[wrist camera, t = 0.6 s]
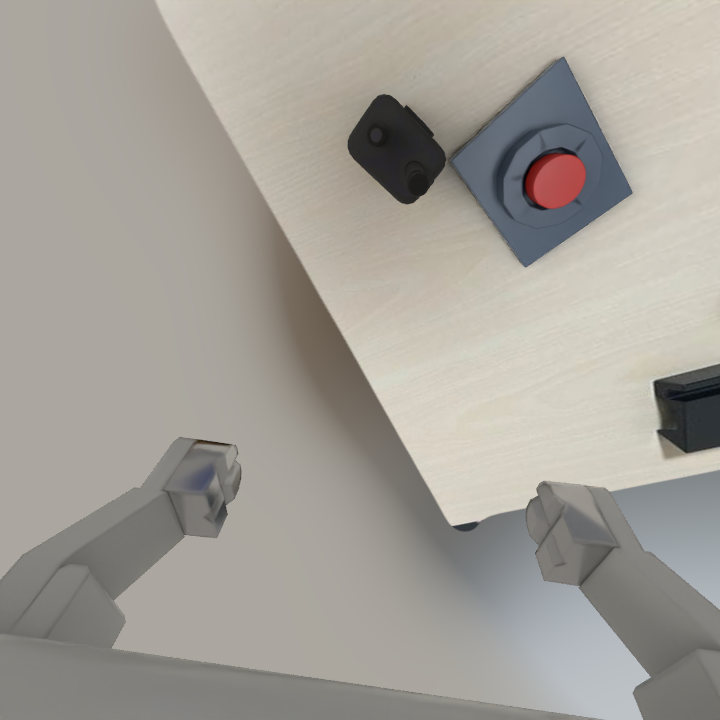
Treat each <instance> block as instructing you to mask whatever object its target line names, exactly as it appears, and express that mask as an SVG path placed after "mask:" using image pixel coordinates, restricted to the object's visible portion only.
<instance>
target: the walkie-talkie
mask: <svg viewBox="0 0 720 720" xmlns="http://www.w3.org/2000/svg"><path fill="white" fill-rule="evenodd" d="M433 135H434V134H433V132H432V131H431V130H430V129H429V128H428V127H427V126H426V124H425V123H424V122H423V121H422V120H421V119H420V118H419V117H418V116H417V115H416V114H415V113H414V112H413V111H412V110H411V109H410V108H409V107H408V106H407V105H406V106H405V107H403V106H402V105H401V104H400V103H399V102H398V101H397V100H396V99H395V98H393V97H392V96H390V95H386V94H383V95H379V96H377V97H376V98H375V99H374V100H373V102H372V103H371V105H370V106H369V107H368V109H367V110H366V112H365V113H364V115H363V116H362V118H361V119H360V121H359V122H358V124H357V125H356V127H355V128H354V130H353V131H352V133H351V134H350V136H349V139H348V150H349V153H350V155H351V156H352V157H353V159H354V160H355V161H356V162H357V163H359V164H360V165H361V166H362V167H363V168H364V169H365V170H366V171H367V172H368V173H369V174H370V175H371V176H372V177H373V178H374V179H375V180H377V181H378V182H379V183H380V184H381V185H382V186H383V187H384V188H385V189H386V190H387V191H388V192H389V193H390V194H391V195H392V196H393V197H395V198H396V199H397V200H398V201H399V202H401V203H403V204H411V203H414V202H415V201H416V200H417V199H418V198H419V197H420V196H422V195H424V194H425V193H426V192H427V191H428V189H429V188H430V186H431V185H432V184H433V183H434V179H435V178H436V177H437V176H438V175H439V174H440V172H441V171H442V170H443V168H444V166H445V162H446V157H445V152H444V151H443V149H442V148H441V146H440V145H439V144H438V143H437V142H436V141H435V140H434V139H433V138H432V137H433Z"/></svg>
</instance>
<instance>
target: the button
mask: <svg viewBox="0 0 720 720" xmlns="http://www.w3.org/2000/svg"><path fill="white" fill-rule="evenodd" d="M585 178H586V170H585V166H584V164H583V162H582V161H581V160H580V159H579V158H578V157H576V156H573V155H569V154H562V153H552V154H548V155H546V156H544V157H542V158H540V159H539V160H538V161H537V162H536V163H535V164H534V165H533V166H532V167H531V169H530V171H529V172H528V175H527V178H526V182H525V188H526V193H527V195H528V197H529V198H530V199H531V200H532V201H533V202H535V203H537V204H539V205H541V206H543V207H545V208H549V209H556V208H560V207H563V206H565V205H567V204H569V203H570V202H571V201H573V200H574V199H575V198H576V197H577V196H578V194H579V193H580V191H581V190H582V188H583V186H584V183H585Z"/></svg>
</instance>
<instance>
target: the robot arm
mask: <svg viewBox="0 0 720 720" xmlns="http://www.w3.org/2000/svg"><path fill="white" fill-rule="evenodd" d="M237 455H238V451H237V447H236V445H232V444H225V443H218V442H212V441H204V440H198V439H190V438H183V437H179V438H178V439H176V440H175V441H174V442H173V443H172V445H171V446H170V447H169V449H168V450H167V452H166V453H165V454H164V456H163V457H162V458H161V460H160V461H159V463H158V464H157V465H156V467H155V468H154V470H153V471H152V472H151V474H150V475H149V476H148V478H147V479H146V481H145V482H144V483H143V485H142V486H141V488H133V489H131V490H130V491H128V492H126V493H125V494H123V495H121V496H120V497H118V498H117V499H115V500H113V501H111V502H110V503H108V504H106V505H105V506H103V507H101V508H100V509H98V510H96V511H95V512H93V513H91V514H90V515H88V516H86V517H85V518H83V519H82V520H80V521H78V522H77V523H75V524H73V525H71V526H70V527H68V528H66V529H65V530H63V531H61V532H60V533H58V534H56V535H55V536H53V537H51V538H50V539H48V540H47V541H45V542H43V543H42V544H40V545H38V546H37V547H35V548H33V549H32V550H30V551H28V552H27V553H25V554H23V555H22V556H21V557H20V559H19V560H18V561H17V562H16V563H15V564H14V565H13V566H12V568H11V569H10V570H9V571H8V572H7V573H6V574H5V575H4V576H3V578H2V579H1V580H0V720H602V719H596V718H588V717H582V716H575V715H568V714H560V713H554V712H546V711H540V710H533V709H526V708H519V707H512V706H505V705H498V704H491V703H484V702H478V701H471V700H464V699H457V698H450V697H443V696H436V695H429V694H422V693H415V692H408V691H401V690H394V689H387V688H380V687H374V686H367V685H359V684H353V683H346V682H339V681H331V680H325V679H318V678H311V677H304V676H297V675H290V674H283V673H276V672H269V671H263V670H256V669H249V668H242V667H235V666H228V665H221V664H214V663H207V662H200V661H193V660H186V659H179V658H172V657H165V656H159V655H152V654H144V653H138V652H130V651H124V650H117V649H111V648H112V646H113V645H114V643H115V641H116V639H117V637H118V635H119V633H120V631H121V630H122V628H123V626H124V624H125V616H124V614H123V613H122V612H121V610H120V609H119V608H118V606H117V605H116V604H115V602H114V600H115V599H116V598H117V597H118V596H119V595H120V594H121V593H122V592H124V591H125V590H126V589H127V588H128V587H129V586H130V585H131V584H133V583H134V582H135V581H136V580H137V579H138V578H139V577H140V576H141V575H143V574H144V573H145V572H146V571H147V570H148V569H149V568H150V567H151V566H153V565H154V564H155V563H156V562H157V561H158V560H159V559H160V558H162V557H163V556H164V555H165V554H166V553H167V552H168V551H169V550H171V549H172V548H173V547H174V546H175V545H176V544H177V543H178V542H180V541H181V540H182V539H183V538H184V535H190V536H200V537H210V538H217V537H218V535H219V533H220V530H221V528H222V526H223V523H224V521H225V519H226V517H227V515H228V514H227V510H226V505H227V504H228V503H229V502H231V501H233V500H234V499H235V496H236V494H237V492H238V489H239V485H240V480H241V466H240V464H239V463H238V462H237V461H236V460H235V459H236V457H237ZM536 490H537V493H538V496H537V497H535V498H533V499H531V500H530V502H529V504H528V506H527V508H526V523H527V528H528V532H529V535H530V537H531V538H532V539H533V540H534V541H535V542H536V543H537V544H538V548H537V550H536V553H535V554H536V557H537V560H538V563H539V567H540V569H541V573H542V576H543V579H544V581H550V582H556V583H562V584H569V585H575V586H580V587H579V589H580V590H581V591H582V593H583V594H584V595H585V596H586V597H587V598H588V600H589V601H590V602H591V604H592V605H593V606H594V607H595V609H596V610H597V611H598V612H599V613H600V615H601V616H602V617H603V618H604V619H605V621H606V622H607V623H608V625H609V626H610V627H611V628H612V629H613V631H614V632H615V633H616V634H617V636H618V637H619V638H620V639H621V641H622V642H623V643H624V644H625V645H626V647H627V648H628V649H629V651H630V652H631V653H632V654H633V656H634V657H635V658H636V659H637V660H638V662H639V663H640V664H641V665H642V667H643V668H644V669H645V670H646V672H647V673H648V674H649V675H650V676H651V678H649V679H648V680H646V681H644V682H643V683H641V684H640V685H638V686H637V687H636V688H635V690H634V692H633V695H634V697H635V700H636V702H637V705H638V707H639V710H640V712H641V715H642V717H643V720H720V610H719V609H718V608H717V607H716V606H714V605H713V604H712V603H711V602H710V601H708V600H707V599H706V598H705V597H703V596H702V595H701V594H700V593H699V592H698V591H696V590H695V589H694V588H693V587H692V586H690V585H689V584H688V583H687V582H686V581H685V580H683V579H682V578H681V577H680V576H679V575H677V574H676V573H675V572H674V571H673V570H672V569H670V568H669V567H668V566H667V565H666V564H664V563H663V562H662V561H661V560H659V559H658V558H657V557H656V556H655V555H654V554H652V553H651V552H646V551H644V550H643V548H642V546H641V544H640V543H639V541H638V539H637V538H636V536H635V534H634V533H633V531H632V529H631V527H630V526H629V524H628V522H627V520H626V519H625V517H624V515H623V514H622V512H621V510H620V508H619V507H618V505H617V503H616V502H615V500H614V498H613V496H612V495H611V493H610V492H609V491H608V490H607V489H606V488H602V487H593V486H585V485H580V484H570V483H561V482H551V481H543V482H541V483H540V484H539V485H538V487H537V489H536Z"/></svg>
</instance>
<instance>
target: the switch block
mask: <svg viewBox="0 0 720 720" xmlns="http://www.w3.org/2000/svg"><path fill="white" fill-rule="evenodd" d="M552 153H562V154H569V155H573V156H576V157H578V158H579V159H580V160H581V161H582V162H583V164H584V166H585V170H586V178H585V183H584V186H583V188H582V190H581V191H580V193H579V194H578V196H577V197H576V198H575V199H574V200H573V201H571V202H570V203H569V204H567V205H565V206H563V207H560V208H556V209H549V208H545V207H543V206H541V205H539V204H537V203H535V202H533V201H532V200H531V199H530V198H529V197H528V195H527V193H526V188H525V182H526V178H527V175H528V172H529V171H530V169H531V167H532V166H533V165H534V164H535V163H536V162H537V161H538V160H539V159H540V158H542V157H544V156H546V155H548V154H552ZM449 161H450V163H451V164H452V165H453V167H454V168H455V170H456V171H457V173H458V174H459V175H460V177H461V178H462V180H463V181H464V183H465V184H466V185H467V187H468V188H469V190H470V191H471V193H472V194H473V195H474V197H475V198H476V200H477V201H478V203H479V204H480V205H481V207H482V208H483V210H484V211H485V212H486V214H487V215H488V217H489V218H490V220H491V221H492V222H493V224H494V225H495V227H496V228H497V230H498V231H499V232H500V234H501V235H502V237H503V238H504V240H505V241H506V242H507V244H508V245H509V247H510V248H511V250H512V251H513V252H514V254H515V255H516V257H517V258H518V260H519V261H520V262H521V264H522V265H523V266H524V267H527V266H529V265H530V264H531V263H533V262H534V261H536V260H537V259H539V258H540V257H542V256H543V255H544V254H546V253H547V252H549V251H550V250H552V249H553V248H554V247H556V246H557V245H559V244H560V243H562V242H563V241H565V240H566V239H567V238H569V237H570V236H572V235H573V234H575V233H576V232H578V231H579V230H580V229H582V228H583V227H585V226H586V225H588V224H589V223H590V222H592V221H593V220H595V219H596V218H598V217H599V216H601V215H602V214H603V213H605V212H606V211H608V210H609V209H611V208H612V207H614V206H615V205H616V204H618V203H619V202H621V201H622V200H624V199H625V198H626V197H628V196H629V195H631V194H632V193H633V192H632V190H631V188H630V186H629V184H628V182H627V180H626V178H625V176H624V174H623V172H622V170H621V168H620V166H619V164H618V162H617V160H616V158H615V156H614V154H613V153H612V151H611V149H610V147H609V145H608V143H607V141H606V139H605V137H604V135H603V133H602V131H601V129H600V127H599V125H598V123H597V121H596V119H595V117H594V115H593V113H592V111H591V109H590V107H589V105H588V103H587V101H586V99H585V97H584V95H583V93H582V91H581V89H580V87H579V85H578V83H577V81H576V79H575V77H574V75H573V73H572V71H571V69H570V67H569V65H568V63H567V61H566V60H565V58H564V57H561V58H559V59H557V60H555V61H554V62H553V63H552V64H551V65H550V66H549V67H548V68H547V69H546V70H545V71H544V72H542V73H541V74H540V75H539V76H538V77H537V78H536V79H535V80H534V81H533V82H532V83H531V84H530V85H528V86H527V87H526V88H525V89H524V90H523V91H522V92H521V93H520V94H519V95H518V96H517V97H516V98H515V99H513V100H512V101H511V102H510V103H509V104H508V105H507V106H506V107H505V108H504V109H503V110H502V111H501V112H499V113H498V114H497V115H496V116H495V117H494V118H493V119H492V120H491V121H490V122H489V123H488V124H487V125H486V126H484V127H483V128H482V129H481V130H480V131H479V132H478V133H477V134H476V135H475V136H474V137H473V138H472V139H470V140H469V141H468V142H467V143H466V144H465V145H464V146H463V147H462V148H461V149H460V150H459V151H458V152H457V153H455V154H454V155H453V156H452V157H451V158H450V159H449Z"/></svg>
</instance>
